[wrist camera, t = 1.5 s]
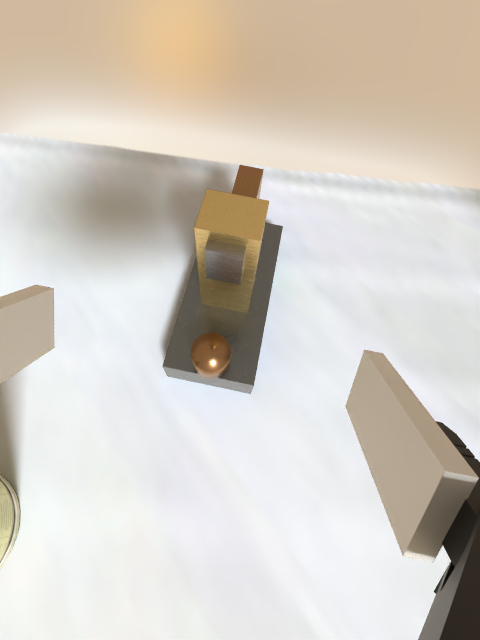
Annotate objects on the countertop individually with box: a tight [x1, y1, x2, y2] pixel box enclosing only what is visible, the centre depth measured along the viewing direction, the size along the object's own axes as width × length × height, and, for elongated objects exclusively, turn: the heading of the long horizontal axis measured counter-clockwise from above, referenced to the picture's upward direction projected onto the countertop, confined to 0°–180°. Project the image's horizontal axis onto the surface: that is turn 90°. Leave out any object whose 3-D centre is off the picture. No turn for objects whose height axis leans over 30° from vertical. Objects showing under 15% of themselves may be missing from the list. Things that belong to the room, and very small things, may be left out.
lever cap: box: [194, 189, 269, 313], centre depth 31 cm, size 5×5×12 cm
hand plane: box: [163, 165, 283, 394], centre depth 34 cm, size 9×20×12 cm, turn 169°
